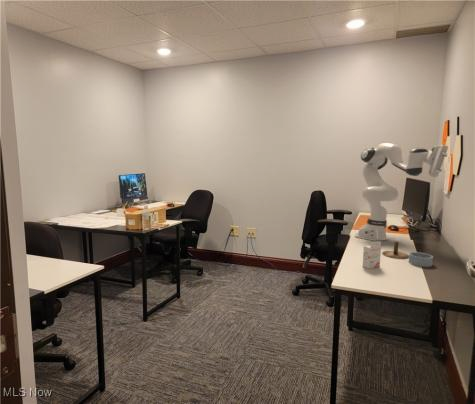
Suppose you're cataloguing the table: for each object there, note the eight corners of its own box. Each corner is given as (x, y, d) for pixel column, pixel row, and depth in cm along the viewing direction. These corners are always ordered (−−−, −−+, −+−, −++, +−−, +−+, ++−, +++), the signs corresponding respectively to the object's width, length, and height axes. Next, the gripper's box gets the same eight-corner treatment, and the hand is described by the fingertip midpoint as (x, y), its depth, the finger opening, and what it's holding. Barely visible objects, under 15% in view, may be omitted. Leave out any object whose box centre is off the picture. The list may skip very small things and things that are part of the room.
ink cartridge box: (372, 264, 194) (374, 239, 192) (379, 266, 190) (382, 241, 188) (361, 266, 190) (363, 240, 188) (368, 268, 186) (371, 242, 184)
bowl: (408, 264, 196) (409, 256, 195) (409, 259, 206) (410, 251, 205) (432, 268, 190) (433, 259, 189) (432, 262, 200) (432, 254, 199)
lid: (380, 256, 210) (382, 242, 209) (383, 250, 223) (384, 237, 222) (407, 260, 203) (409, 246, 202) (409, 254, 216) (410, 240, 215)
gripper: (424, 173, 225) (431, 178, 212) (434, 143, 218) (443, 145, 205) (434, 175, 224) (442, 180, 211) (445, 145, 218) (454, 147, 205)
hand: (443, 163), depth 208 cm, fingers open, 8 cm apart
